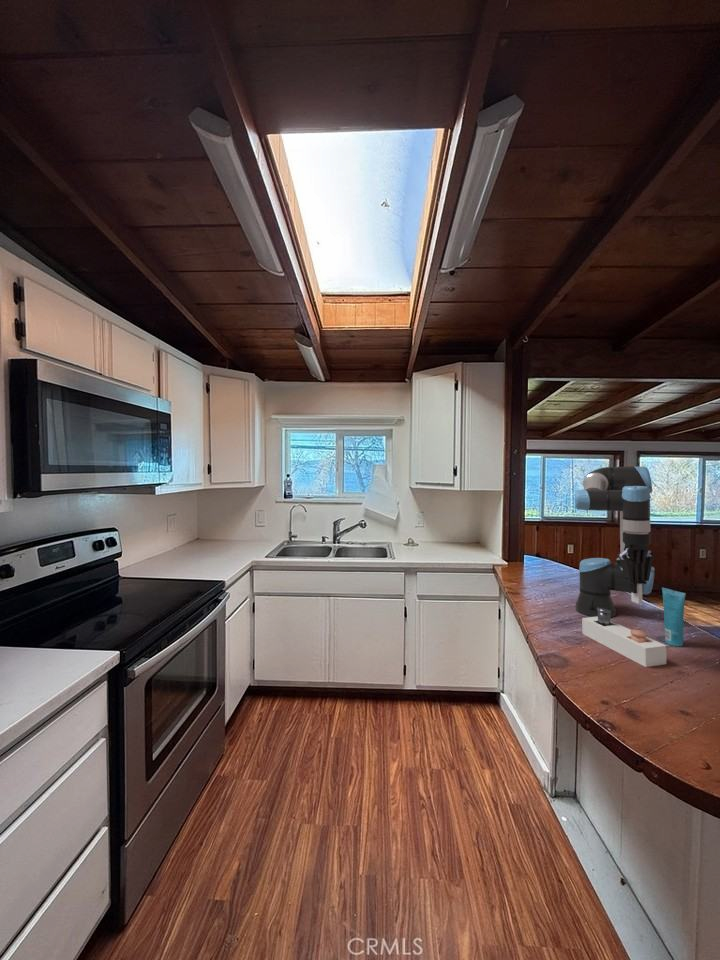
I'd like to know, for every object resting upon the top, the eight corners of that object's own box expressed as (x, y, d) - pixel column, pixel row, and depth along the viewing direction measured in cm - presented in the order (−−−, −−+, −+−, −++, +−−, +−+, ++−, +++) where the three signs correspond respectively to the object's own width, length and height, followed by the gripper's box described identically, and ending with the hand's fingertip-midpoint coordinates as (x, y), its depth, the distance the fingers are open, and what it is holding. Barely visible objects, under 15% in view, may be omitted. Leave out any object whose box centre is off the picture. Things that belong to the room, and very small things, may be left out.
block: (600, 631, 148) (600, 616, 148) (666, 664, 122) (666, 645, 122) (582, 633, 146) (582, 618, 146) (645, 667, 121) (645, 648, 120)
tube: (689, 646, 134) (689, 592, 134) (682, 649, 132) (682, 594, 131) (665, 638, 141) (664, 586, 140) (658, 641, 138) (657, 588, 138)
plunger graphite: (604, 625, 144) (604, 606, 143) (614, 630, 139) (614, 610, 139) (594, 626, 143) (594, 607, 142) (604, 631, 138) (603, 611, 138)
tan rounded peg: (638, 649, 130) (638, 628, 130) (650, 655, 126) (650, 633, 125) (627, 651, 129) (627, 629, 129) (639, 657, 125) (639, 635, 125)
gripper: (641, 529, 132) (642, 596, 133) (610, 531, 129) (611, 600, 130) (663, 532, 125) (663, 604, 125) (630, 535, 122) (630, 608, 123)
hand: (636, 602), depth 128 cm, fingers closed
